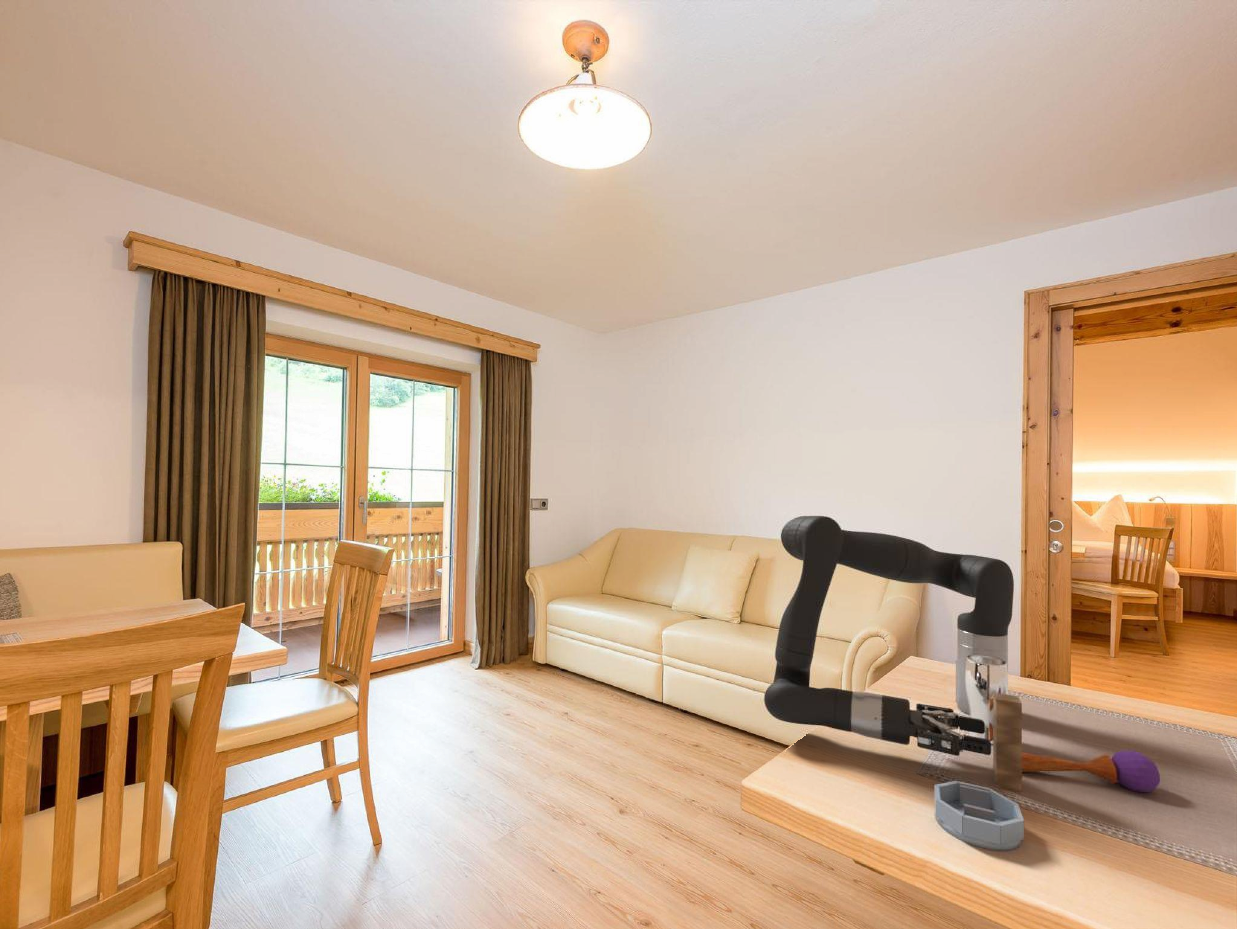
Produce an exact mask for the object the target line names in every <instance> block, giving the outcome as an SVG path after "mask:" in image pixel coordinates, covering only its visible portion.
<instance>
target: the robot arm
mask: <svg viewBox="0 0 1237 929" xmlns="http://www.w3.org/2000/svg"><path fill="white" fill-rule="evenodd" d="M780 540H781V543H782V546H783V549H785V551H786V552H787V553H788V554H789V555H790V556H792V557H793V558H794V559H797V560H799V561H802V569H801V570H802V571H801V575H800V579H799V582H798V584H797V587H796V589H795V591H794V593H793V595H792V597H791V599H790V600H789V602H788V604H787V606H786V608H785V610H784V611H783V614H782V617H781V620H780V623H779V627H778V634H777V639H776V644H775V645H776V646H775V652H774V658H775V661H776V665H775V671H774V679H773V683H771V684H770V685H769V686H768V687H767V688H766V691H765V692H764V695H763V696H764V697H763V701H764V705H765V708H766V710H767V712H768V713H769V714H770V715H771V716H772V717H773V718H775V719H777V720H778V721H781V722H785V723H790V724H797V725H808V726H822V727H827V728H830V729H832V730H833V729H834V730H838V731H844V732H848V733H852V734H857V735H860V736H863V737H866V738H870V739H876V740H880V741H884V742H889V743H895V744H900V745H905V746H908V745H910V742H911V740H910V739H911V737H913V738H915V739H917V740H916V745H917V747H919V748H921V749H924V750H925V749H926V750H929V751H933V752H938V753H944V754H946V755H947V754H948V755H952V756H957V757H958V756H960V755H961V754H960V753H962V752H964V751H966V752H969V753H970V752H971V753H977V754H982V755H985V756H990V755H991V754H992V745H991V742H990V741H989V740H988V739H983V738H978V737H972V736H969V735H968V734H967V735H966V734H961V733H958V732H956V731H954V730H958V729H959V730H960V731H965V732H968V731H969V732H975V733H980V734H983V733H984V732H985V723H984V721H983V720H981V719H976V718H970V717H969V716H963V715H959V713H957V712H954V709H953V708H951V707H950V708H949V707H948V708H947V707H943V706H938V705H937V706H936V705H929V704H922V703H916V707H915V709H911V705H910V704H911V702H910V700H909V699H907V698H904V697H897V696H890V695H885V694H880V693H873V692H866V691H853V690H846V689H839V688H834V687H822V688H817V687H812V686H810V678H811V666H812V662H813V659H814V652H815V647H816V640H817V634H818V629H819V624H820V620H821V615H822V612H823V607H824V604H825V602H826V598H827V594H828V591H829V589H830V586H831V582H832V580H833V577H834V574H835V571H836V569H837V565H841V566H844V567H848V568H850V569H852V570H853V569H854V570H855V571H860V572H863V573H866V574H869V575H872V576H875V577H879V578H882V579H883V578H884V579H887V580H891V581H896V582H901V583H906V584H932V585H936V586H938V587H941V588H944V589H947V590H950V591H952V592H956V593H958V594H961V595H963V596H966V597H970V598H974V608H973V610H972V611H970V612H963V613H959V615H957V620H956V622H957V624H956V626H957V627H956V628H957V632H956V634H957V636H956V637H957V640H956V641H957V642H956V643H957V644H956V645H957V649H956V650H957V652H956V653H957V654H956V655H957V656H956V660H955V702H956V703H957V704H956V706H957V708H958V709H959V710H960V711H962V712H964V713H965V714H968V715H970V708H969V702H968V697H967V692H966V683H965V673H966V662H967V656H968V655H986V656H992V657H996V658H999V659H1002V660H1004V661H1005V662H1006V663H1007V672H1008V673H1009V649H1008V648H1009V636H1008V634H1009V626H1010V624H1011V622H1012V618H1013V606H1014V605H1013V604H1014V593H1015V592H1014V591H1015V590H1014V589H1015V588H1014V587H1015V584H1014V583H1015V582H1014V574H1013V571H1012V569H1011V567H1010V566H1009V564H1008V563H1007V562H1006V561H1004V560H1001V559H997V558H994V557H986V556H983V555H982V556H981V555H973V554H961V553H949V552H945V551H944V552H943V551H937V550H935V549H932V548H931V547H929V546H927V545H926V544H923V543H921V542H920V541H917V540H914V539H910V538H906V537H902V536H898V535H893V534H886V533H881V532H869V531H857V530H855V531H853V530H846V529H842V528H841V525H839V523H838V521H836V520H835V519H833V518H831V517H830V516H824V515H801V516H797V517H794V518H793V519H790V520H789V521H787V522H786V523H785V524H784V525H783V528H782V529H781V532H780Z"/></svg>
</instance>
